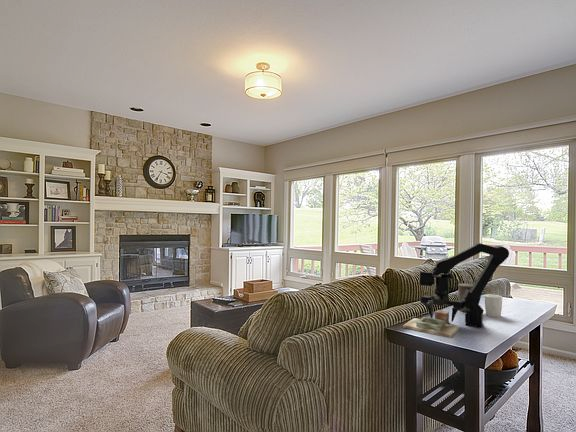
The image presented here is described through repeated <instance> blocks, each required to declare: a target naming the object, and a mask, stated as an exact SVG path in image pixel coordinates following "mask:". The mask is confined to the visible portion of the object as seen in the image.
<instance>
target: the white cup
mask: <svg viewBox="0 0 576 432" xmlns="http://www.w3.org/2000/svg"><path fill="white" fill-rule="evenodd" d="M484 309H485V316H487V317H490V318H500V317H502V309H503V296H502V295H499V294H492V293H486V294H484Z"/></svg>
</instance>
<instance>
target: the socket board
mask: <svg viewBox="0 0 576 432" xmlns="http://www.w3.org/2000/svg"><path fill="white" fill-rule="evenodd" d="M402 326H403V329H407V330H408V329H409V330H413V331H418V332H423V333H426V334H432V335H436V336H441V337H447V338H450V337H451V338H453V336H455V334H456V333H457V332H458V331H459V330H460V326H458V325H453V324H448V323H447V324H446V321H444V320H438V319H435V318H434V317H433V318H431V317H427V316H423V317H421V318H417V317H416V318H415V317H414V318H412V319H410V320H409V321H408V322H406V323H405V324H403V325H402Z"/></svg>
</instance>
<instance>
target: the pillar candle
mask: <svg viewBox="0 0 576 432" xmlns="http://www.w3.org/2000/svg"><path fill="white" fill-rule="evenodd" d="M474 284H475V283H470V282H467V283H458V293H457V294H458V299H457V300H462V298H463V297H462V295H463V294H464V293H465V290H466V289H467V290H470V289H472V288H473V286H474ZM478 305H480V303H479V304H478ZM467 310H468V309H467V308H466V307H464V308H463V309H460V310H459V311H461V312H463V313H464V312H465V313H466V312H467Z"/></svg>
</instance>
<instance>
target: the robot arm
mask: <svg viewBox="0 0 576 432" xmlns="http://www.w3.org/2000/svg"><path fill="white" fill-rule="evenodd" d="M480 253H484V254H487V255H489V256H488V261H487V263H486V265H484V268H483V269H482V271H481V273H480V274H479V277H478V278H477V279H476V281H475V283H473V284H474V286H473V288H472V289H470V290H467V289H466V290H465V293H464V294H463V295H462V297H463V298H462V300H458V299H455V300H450V295H449V294H450V293H449V292H450V288H449V287H450V285H449V284H450V279H454V276H452V274H451V273H450V271H452V269H454V268H455V267H456V266H457V265H458V264H460V263H462V262H464V261H467V260H468V259H470V258H472V257H474V256H476V255H478V254H480ZM509 256H510V251H509V250H508V249H507V247H504V246H501V245H496V246H495V245H494V246H492V245H487V244H484V243H482V242H476V243H475V244H474V245H471V246H470V247H468V248H467V249H464V250H462V251H460V252H458V253H457V254H454V255H452V256H449V257H445V258H442V259H440V260H439V259H438V260H437V261H436V262H435V266H434V268H433V269H432V270H431V272H430V271H423V270H422V271H421V270H420V271H419V278H418V284H419V286H421V287H422V286H423V287H432V286H434V285H435V289H434V294H433V295H426V294H425V295H422V296H420V299H419V301H420V303H422V305H424V306H425V307H426V308H427V309H428V313H429V315H430V318H433V319H434V306H440V307H442V306H444V305H450V306H452V308H451V310H452V311H451V320H450V321H451V323H453V322H454V320H455V318H456V315H457V314H458V313H457V312H458V311H460V309H463V308H464V307H466V308H467V309H468V310H467V312H465V314H464V323H465V326H470V327H474V328H479V329H480V328H483V326H484V320H483V319H484V316H483V315H484V309H483V308H482V306H481V305H480V301H481V297H482V293H483V292H484V290H485V288H486V287H487V285H488V283H489V281H490V280H491V279H492V277H493V275H494V274H495V271H496V270H497V268H498V267H499V266H500V265H502V264H503V263H504V262H505V261H506V260H507V259H508V258H509ZM478 304H479V305H478Z"/></svg>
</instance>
